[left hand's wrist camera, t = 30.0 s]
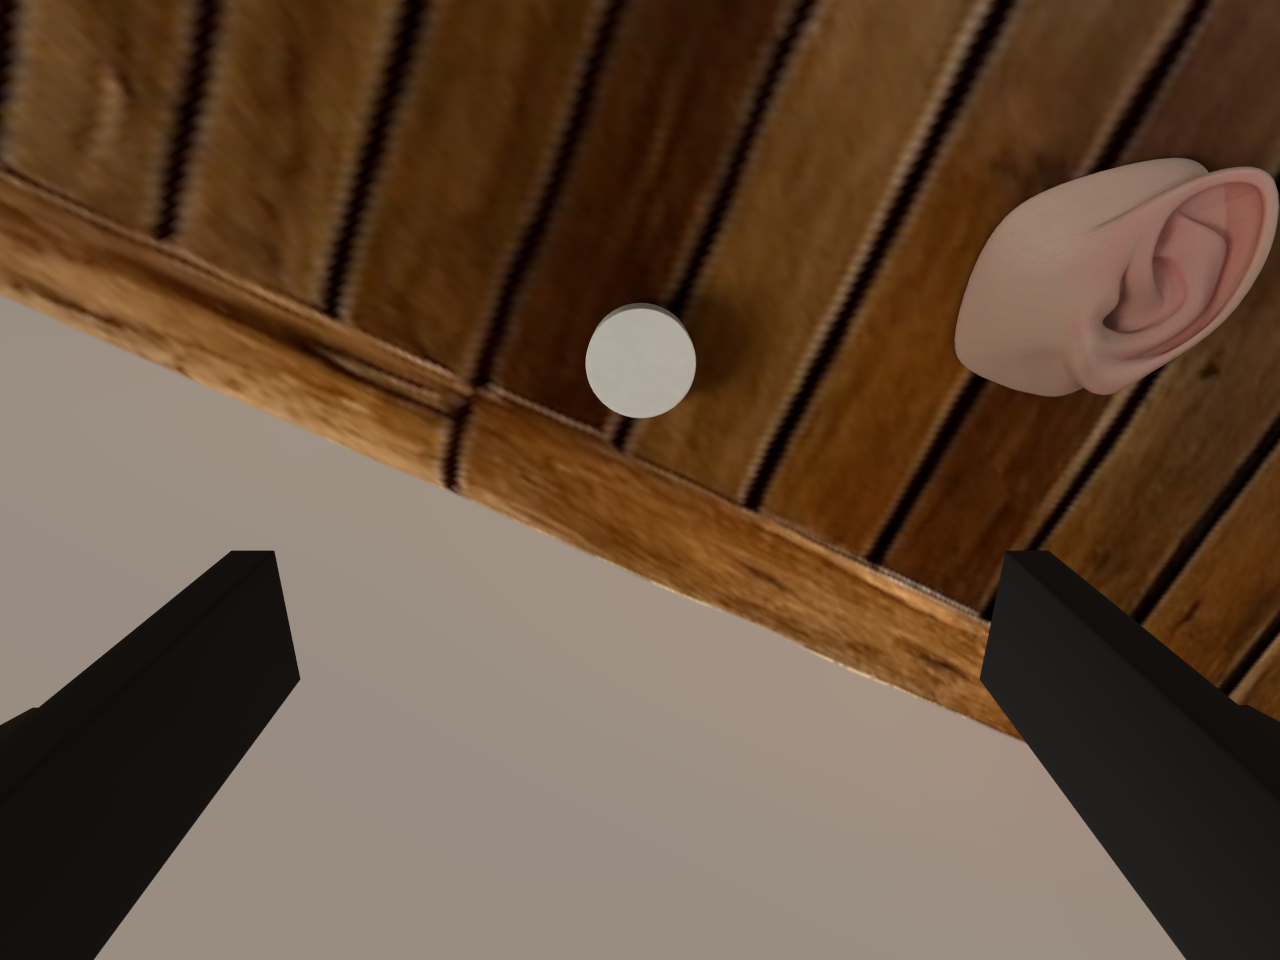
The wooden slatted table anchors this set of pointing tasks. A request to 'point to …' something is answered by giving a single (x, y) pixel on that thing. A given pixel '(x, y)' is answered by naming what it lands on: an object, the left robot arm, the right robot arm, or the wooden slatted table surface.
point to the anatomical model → (1114, 275)
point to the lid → (640, 360)
